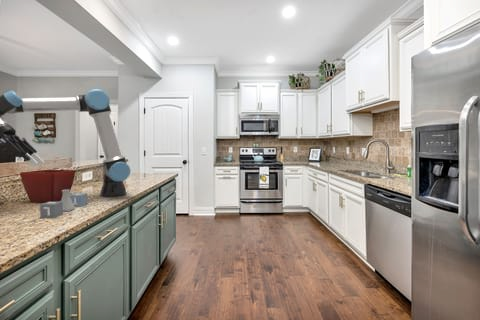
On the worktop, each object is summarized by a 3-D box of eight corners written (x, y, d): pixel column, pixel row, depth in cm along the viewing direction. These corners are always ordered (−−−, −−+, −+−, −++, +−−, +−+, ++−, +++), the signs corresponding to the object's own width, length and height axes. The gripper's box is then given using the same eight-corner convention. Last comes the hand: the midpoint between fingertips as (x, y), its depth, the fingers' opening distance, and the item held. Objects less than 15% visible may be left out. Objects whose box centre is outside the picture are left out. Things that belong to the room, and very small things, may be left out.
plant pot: (46, 196, 164) (45, 169, 164) (76, 197, 164) (76, 169, 163) (19, 203, 145) (18, 172, 145) (53, 204, 145) (53, 172, 144)
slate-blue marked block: (75, 204, 145) (75, 193, 145) (87, 204, 145) (87, 193, 145) (69, 206, 139) (68, 195, 139) (81, 206, 139) (80, 195, 139)
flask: (78, 208, 134) (78, 189, 134) (67, 212, 127) (67, 191, 127) (64, 208, 135) (64, 188, 135) (53, 211, 128) (53, 190, 128)
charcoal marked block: (49, 214, 123) (49, 201, 123) (62, 214, 123) (62, 201, 123) (40, 218, 117) (39, 204, 117) (54, 218, 117) (54, 204, 117)
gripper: (10, 135, 136) (45, 168, 138) (-21, 134, 119) (19, 171, 121) (21, 125, 136) (55, 158, 138) (-9, 122, 119) (31, 159, 121)
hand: (38, 164), depth 129 cm, fingers open, 4 cm apart
